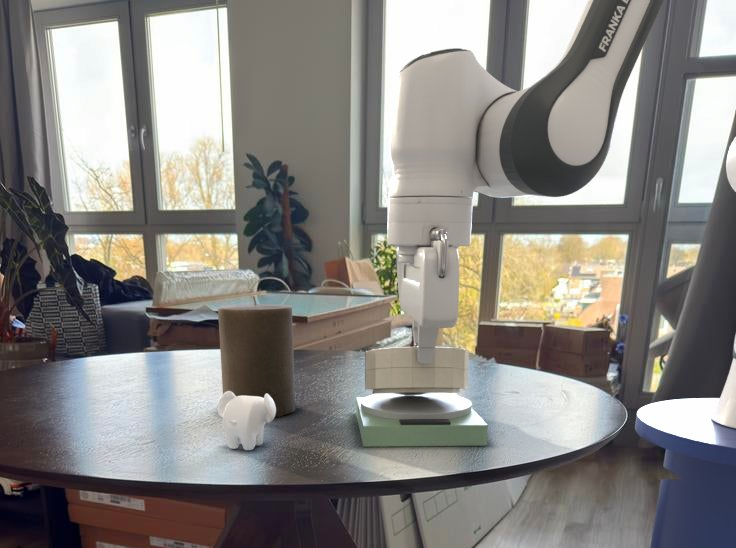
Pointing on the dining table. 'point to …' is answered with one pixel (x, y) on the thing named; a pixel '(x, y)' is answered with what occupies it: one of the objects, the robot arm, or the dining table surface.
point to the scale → (419, 421)
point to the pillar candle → (258, 352)
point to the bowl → (416, 372)
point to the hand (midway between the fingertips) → (423, 361)
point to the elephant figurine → (245, 418)
